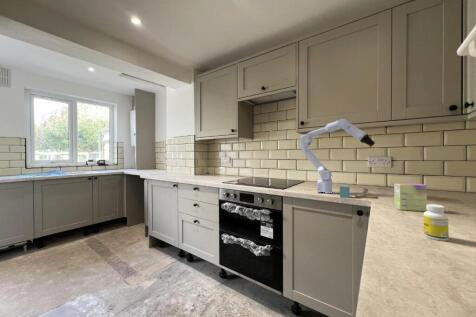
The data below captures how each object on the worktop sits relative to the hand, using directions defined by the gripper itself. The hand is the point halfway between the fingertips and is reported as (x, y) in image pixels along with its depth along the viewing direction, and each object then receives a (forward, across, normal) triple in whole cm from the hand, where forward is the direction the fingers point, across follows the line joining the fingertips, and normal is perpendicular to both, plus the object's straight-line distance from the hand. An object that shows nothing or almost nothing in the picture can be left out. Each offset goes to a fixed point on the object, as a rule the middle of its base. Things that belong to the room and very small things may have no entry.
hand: (373, 144), depth 126 cm
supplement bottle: (+31, -68, +16) cm, 76 cm away
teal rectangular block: (+10, -11, +34) cm, 37 cm away
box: (+31, -30, +16) cm, 46 cm away
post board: (+18, -3, +27) cm, 32 cm away
